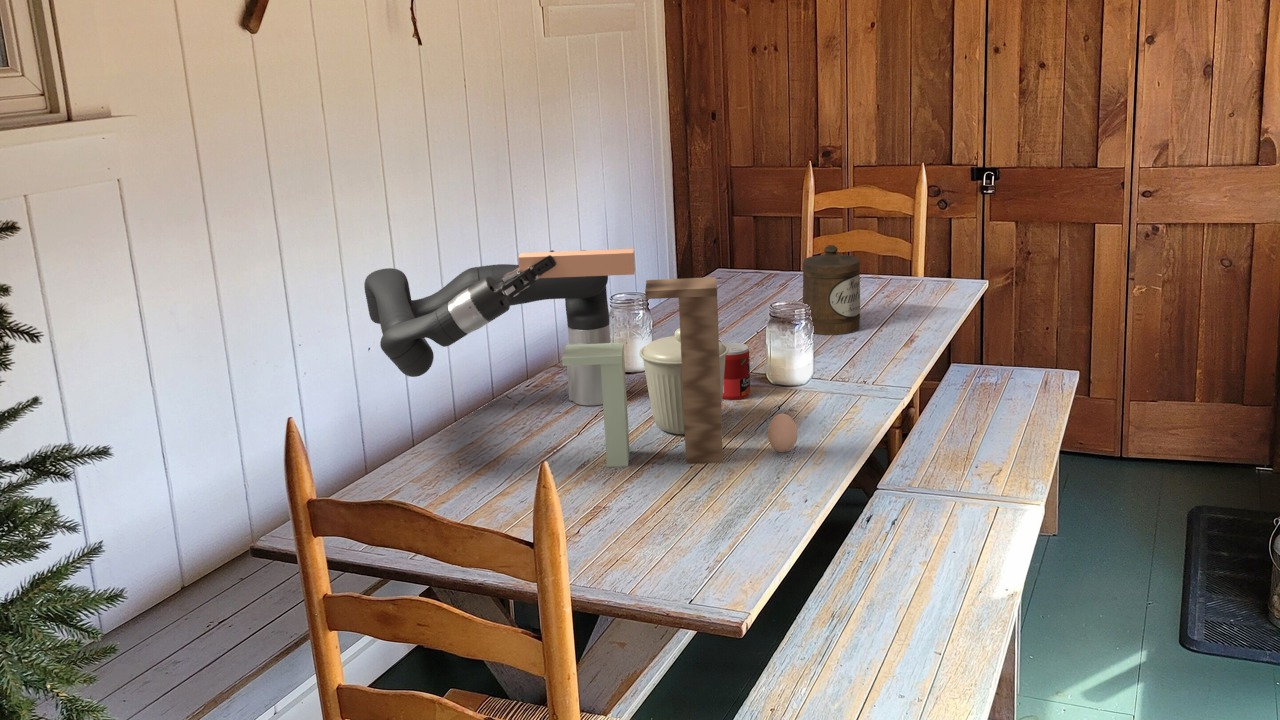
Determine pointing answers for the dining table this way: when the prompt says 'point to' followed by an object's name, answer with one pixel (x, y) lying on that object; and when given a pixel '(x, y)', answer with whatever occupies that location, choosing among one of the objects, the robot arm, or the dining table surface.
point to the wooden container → (832, 292)
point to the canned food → (736, 372)
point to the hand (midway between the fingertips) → (554, 257)
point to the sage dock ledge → (608, 394)
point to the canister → (670, 380)
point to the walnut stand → (697, 363)
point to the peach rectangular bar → (583, 263)
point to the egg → (782, 433)
